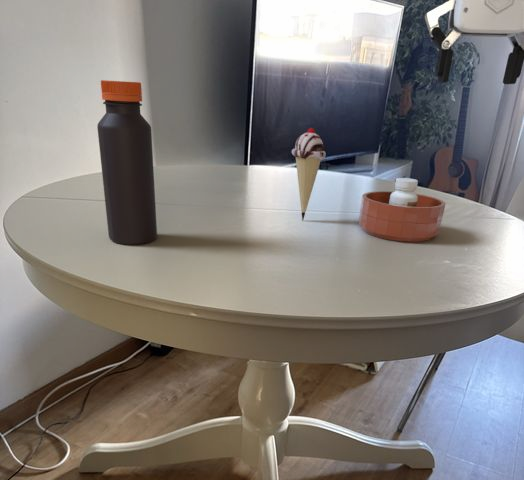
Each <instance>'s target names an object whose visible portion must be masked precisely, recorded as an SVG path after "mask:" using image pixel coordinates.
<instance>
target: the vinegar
mask: <svg viewBox="0 0 524 480" xmlns="http://www.w3.org/2000/svg"><path fill="white" fill-rule="evenodd" d="M100 89H101V91H100V92H101V100H103V102H102V104H103V105H105V114H104V115H103V116H102V118H101V119H100V120H99V121H98V123H97V136H98V145H99V156H100V166H101V167H100V168H101V174H102V184H103V194H104V203H105V205H104V206H105V213H106V225H107V232H108V238H109V240H110V241H111V242H113V243H115V244H120V245H125V246H126V245H129V246H131V245H132V246H134V245H144V244H149V243H152V242H154V241H155V240H156V239H157V236H158V227H157V210H156V209H157V208H156V190H155V189H156V187H155V175H154V174H155V173H154V153H153V137H152V135H153V134H152V127H151V124H150V123H149V122H148V120H146V119H145V117H144V116H143V115H142V114H141V107H142V106H143V104H142V103H141V102H143V92H142V91H143V89H142V83H141V82H139V81H124V80H123V81H122V80H121V81H120V80H107V79H105V80H104V79H101V80H100Z"/></svg>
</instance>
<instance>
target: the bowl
mask: <svg viewBox="0 0 524 480" xmlns="http://www.w3.org/2000/svg"><path fill="white" fill-rule="evenodd" d="M392 192H394V191H393V190H392V191H391V190H390V191H389V190H378V191H376V190H375V191H368V192H366V193H365V192H364V193H363V194H362V196H361V203H360V209H359V215H358V223H357V224H358V226H359V227H360V228H362V229H363V231H364V232H365V233H366V234H369V235H370V236H373V237H376V238H378V239H379V238H380V239H385V240H388V241H396V242H407V243H409V242H410V243H411V242H413V243H414V242H425V241H428V240H431V239H432V238H434V237H436V236H438V235H439V234H440V231H441V230H440V229H441V225H442V221H443V216H444V213H445V208H446V202H445V201H444V200H442V199H440V198H437V197H433V196H430V195H425V194H421V193H420V194H419V193H415V194H416V195H417V196H418V199H417V205H416V207H408V206H399V205H391V204H389V201H390V195H391V193H392Z"/></svg>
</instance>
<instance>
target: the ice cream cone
mask: <svg viewBox="0 0 524 480" xmlns="http://www.w3.org/2000/svg"><path fill="white" fill-rule="evenodd" d="M291 154H292V155H293V156H294V157H295V163H296V174H297V182H298V183H297V184H298V192H299V201H300V210H301V211H300V212H301V220H302V222H303V221H304V218H305V215H306V213H307V208H308V206H309V202H310V199H311V196H312V191H313V188H314V185H315V182H316V178H317V176H318V172H319V168H320V165H321V161H323V159H325V158H326V156H327V155H326V154H327V153H326V151H325V150H324V142H323V140H322V138H321V136H320V135H319V134H317V133H316V132H315V130H314V128H312V127H310V128H309V129H308V130H307V131H306V132H304V133H302V134H300V135H299V136H298V138H297V139H296V141H295V145H294V148H293V149H291Z"/></svg>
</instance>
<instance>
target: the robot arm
mask: <svg viewBox="0 0 524 480" xmlns="http://www.w3.org/2000/svg"><path fill="white" fill-rule="evenodd" d="M448 13H449V16H448V23H447V29H448V31H447V33H444V32H443V30H442V29H441V27H440V25H439V19H440V17H442V16H444V15H445V14H448ZM424 20H425V24H426V28H427V31H428V37H429V38H430V39H431V41H432V42H433V43H434V45H435V47H436V51H438V55H437V59H436V60H437V61H436V66H435V72H434V75H435V77H437V81H436V82H437V83H438V84H443V83H447V82H448V81H449V78H450V74H451V73H450V72H451V67H452V61H453V55H454V50H453V49H452V45H453V44H454V43H455V42H456V41H457V40H458V39H459V37H484V38H485V37H489V38H490V37H493V38H495V37H496V38H503V37H504V38H505V37H507V39H508V41H509V43H510V45H511V47H512V52H509V54H508V56H507V61H506V65H505V70H504V74H503V79H502V84H503V85H515V84H516V83H517V81H518V79H519V78H520V76H521V74H522V70H523V66H524V0H447V1H446V2H443V3H442V4H440V5H438V6H437V7H434V8H433V9H431V10H429V11H428V12H426V13H425V14H424Z"/></svg>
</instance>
